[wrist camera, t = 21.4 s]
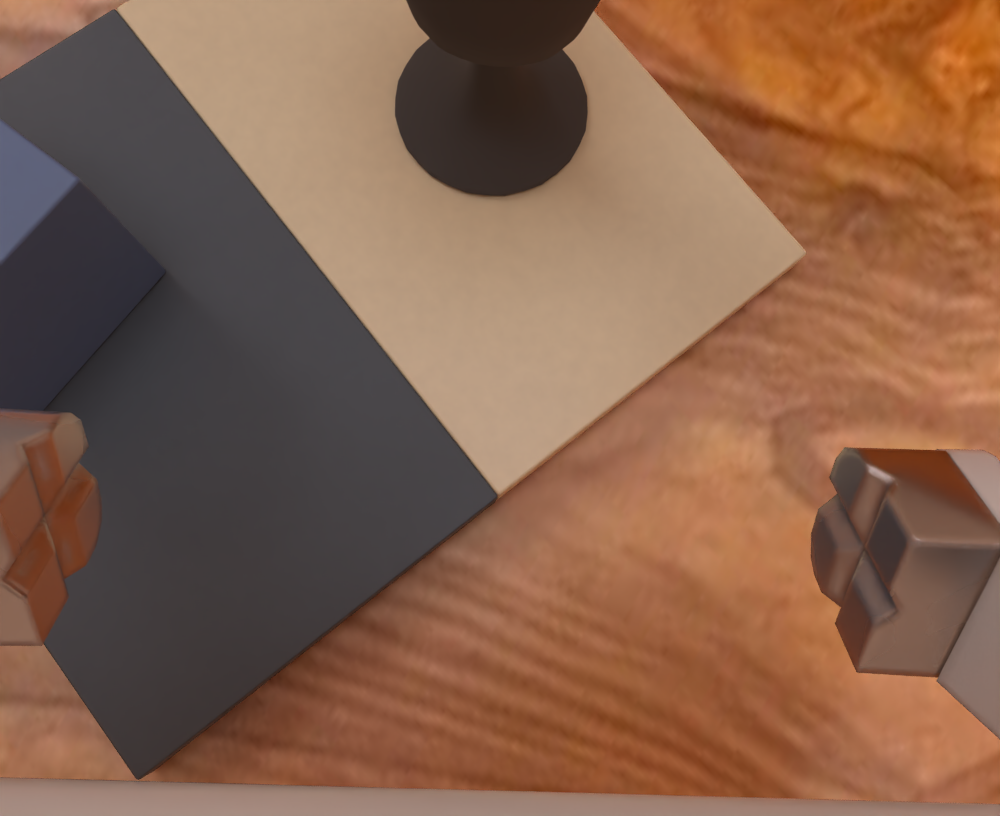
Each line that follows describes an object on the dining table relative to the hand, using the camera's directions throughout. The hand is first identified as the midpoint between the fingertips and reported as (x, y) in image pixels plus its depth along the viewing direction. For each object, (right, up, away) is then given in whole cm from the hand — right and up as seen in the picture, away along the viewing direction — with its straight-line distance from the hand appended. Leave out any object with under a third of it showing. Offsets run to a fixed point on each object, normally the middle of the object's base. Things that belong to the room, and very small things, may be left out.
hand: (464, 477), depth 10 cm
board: (-5, +5, +13) cm, 14 cm away
